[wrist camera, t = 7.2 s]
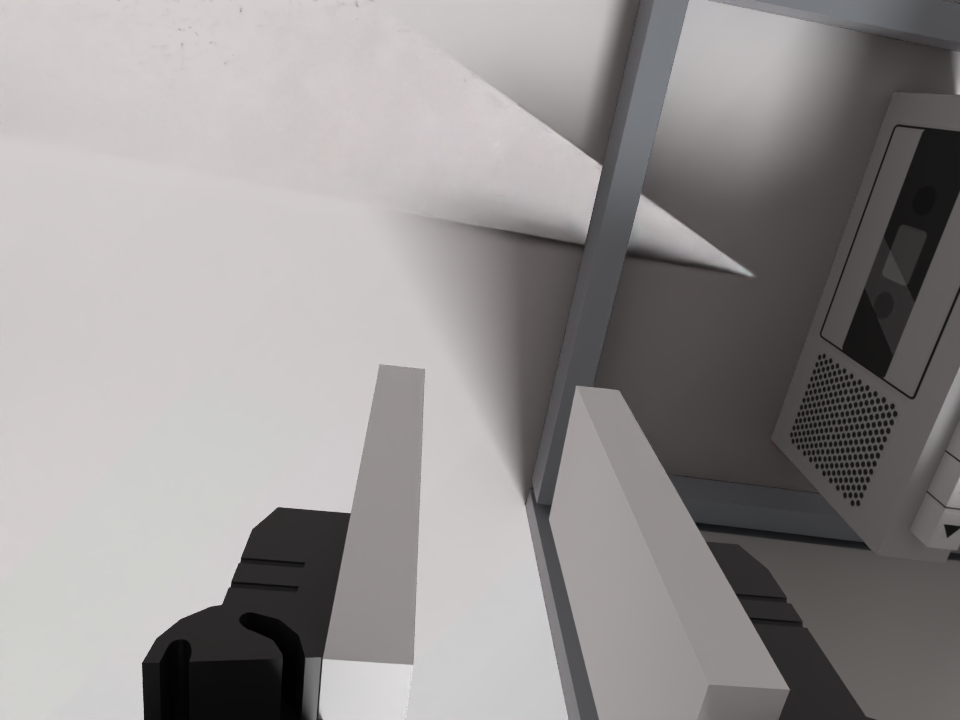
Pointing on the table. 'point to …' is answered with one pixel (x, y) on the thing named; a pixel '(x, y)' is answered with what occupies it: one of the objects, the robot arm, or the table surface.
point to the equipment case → (740, 507)
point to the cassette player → (890, 346)
